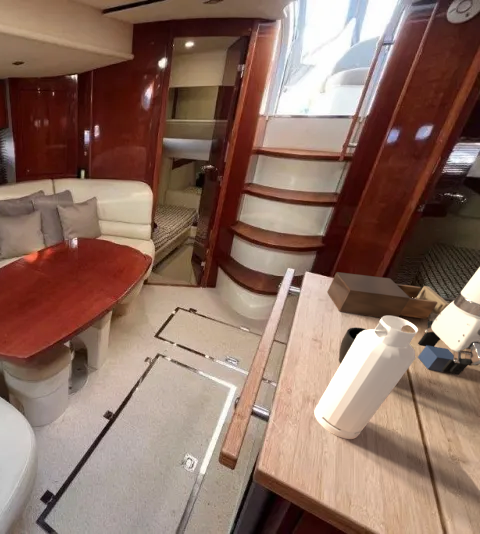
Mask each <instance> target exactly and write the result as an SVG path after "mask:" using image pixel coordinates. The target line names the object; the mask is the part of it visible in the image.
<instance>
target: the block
mask: <svg viewBox="0 0 480 534" xmlns="http://www.w3.org/2000/svg"><path fill="white" fill-rule="evenodd" d="M417 359H419V360H420V362H421V363H422V365H424V367H425V368H426V369H427V370H430V371H435V372H442V373H444V372H443V371H442V368H443V367H444V366H445V365H446V364H447V362H448V361H449V360H450V359H452V360H454V353H452V351H451V350H450V349H449V348H445V347H441V346H440V347H439V346H428V345H426V346H424V348H423V349H422V350H421V352H420V353H419V354H418V356H417Z"/></svg>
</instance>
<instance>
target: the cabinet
mask: <svg viewBox="0 0 480 534" xmlns="http://www.w3.org/2000/svg"><path fill="white" fill-rule="evenodd" d="M396 284H397V283H395V281H394V280H392V279H391V278H389V277H381V276H372V275H364V274H357V273H355V274H354V273H348V272H339V271H336V272H335V275H334V276H333V278H332V281H331V283H330V285H329V288H328V290H327V291H326V293H327V295H328V296H329V298H330V299H331V301H332V303H333V304H334V305H335V307H336V309H337V310H338V311H339V313H346V314H353V315H360V316H367V317H374V318H380V319H381V318H382V317H383V316H395V317H399V316H401V315H400V313H401V312H402V310H403V309H404V307H405V306H406V304H407V302H408V301H409V299H410V297H409V296H408V295H407V294H406V293H405V292H404V291H403V290H402V289H400V288H399V287H398V286H397V285H396Z"/></svg>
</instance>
